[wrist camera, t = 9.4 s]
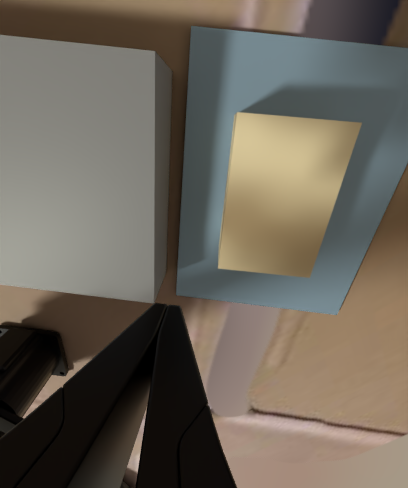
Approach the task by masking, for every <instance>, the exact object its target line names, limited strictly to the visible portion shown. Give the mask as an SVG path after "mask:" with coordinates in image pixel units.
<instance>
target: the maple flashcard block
mask: <svg viewBox="0 0 408 488" xmlns="http://www.w3.org/2000/svg"><path fill="white" fill-rule="evenodd" d="M361 125H362V123H359V122H348V121H336V120H324V119H312V118H301V117H289V116H277V115H265V114H253V113H242V112H237V113H236V114H235V115H234V122H233V131H232V139H231V147H230V156H229V164H228V173H227V181H226V189H225V198H224V206H223V215H222V223H221V231H220V240H219V250H218V269H228V270H238V271H247V272H257V273H267V274H276V275H286V276H296V277H306V278H310V276H311V273H312V270H313V267H314V264H315V261H316V258H317V255H318V252H319V249H320V246H321V243H322V240H323V237H324V234H325V231H326V228H327V225H328V222H329V219H330V216H331V214H332V211H333V208H334V205H335V202H336V199H337V196H338V193H339V190H340V187H341V184H342V181H343V178H344V175H345V172H346V169H347V166H348V163H349V160H350V157H351V154H352V151H353V148H354V145H355V142H356V139H357V136H358V133H359V130H360V128H361Z"/></svg>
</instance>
